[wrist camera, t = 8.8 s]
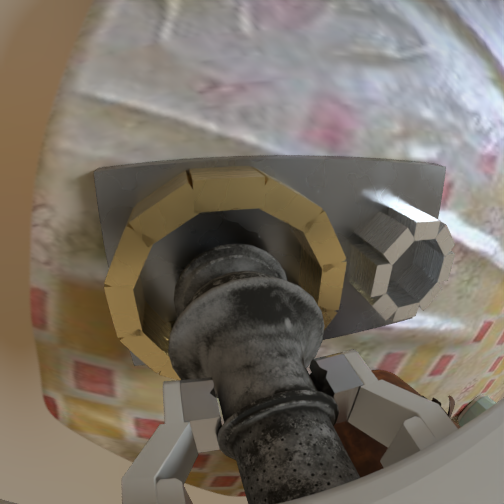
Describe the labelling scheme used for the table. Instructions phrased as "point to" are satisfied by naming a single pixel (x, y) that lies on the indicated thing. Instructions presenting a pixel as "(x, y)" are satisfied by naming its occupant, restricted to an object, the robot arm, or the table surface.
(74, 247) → the table surface
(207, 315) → the stone chess piece
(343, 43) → the table surface
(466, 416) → the disposable coffee cup
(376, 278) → the socket plate
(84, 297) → the table surface
